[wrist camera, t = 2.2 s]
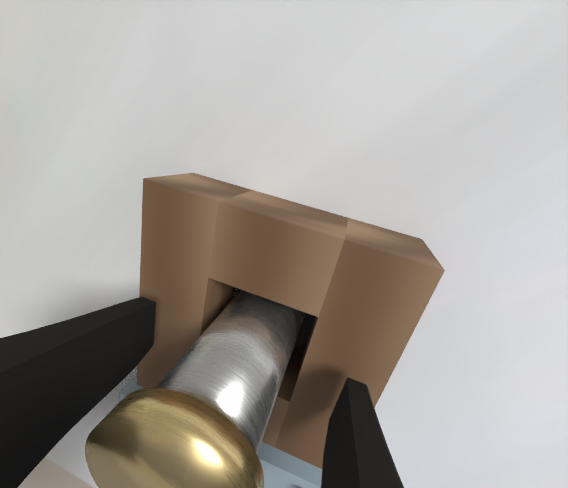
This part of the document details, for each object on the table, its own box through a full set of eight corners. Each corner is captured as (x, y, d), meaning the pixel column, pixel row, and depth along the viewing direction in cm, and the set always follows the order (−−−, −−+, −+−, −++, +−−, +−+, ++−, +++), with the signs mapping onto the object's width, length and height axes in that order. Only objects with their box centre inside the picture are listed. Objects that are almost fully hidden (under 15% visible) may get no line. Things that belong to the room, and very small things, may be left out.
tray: (340, 441, 15) (337, 495, 12) (296, 534, 18) (287, 588, 16) (152, 360, 17) (119, 393, 14) (146, 458, 20) (119, 496, 18)
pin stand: (422, 239, 10) (445, 270, 8) (342, 413, 14) (339, 477, 11) (193, 173, 12) (143, 178, 9) (176, 344, 16) (136, 384, 13)
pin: (325, 280, 12) (269, 482, 5) (302, 348, 13) (233, 583, 6) (243, 252, 13) (80, 390, 5) (230, 320, 14) (89, 502, 7)
